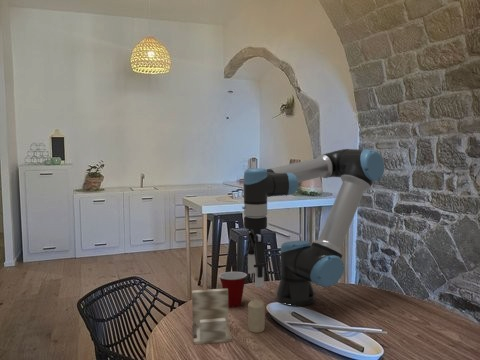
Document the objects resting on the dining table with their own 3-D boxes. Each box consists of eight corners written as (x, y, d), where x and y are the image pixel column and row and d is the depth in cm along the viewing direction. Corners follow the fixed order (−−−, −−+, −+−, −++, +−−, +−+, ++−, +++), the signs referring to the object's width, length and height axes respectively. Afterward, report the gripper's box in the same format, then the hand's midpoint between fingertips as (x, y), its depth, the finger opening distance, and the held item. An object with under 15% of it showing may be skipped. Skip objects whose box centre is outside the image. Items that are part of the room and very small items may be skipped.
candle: (263, 333, 134) (263, 304, 133) (246, 332, 135) (246, 302, 134) (265, 326, 140) (265, 297, 139) (249, 324, 141) (249, 296, 140)
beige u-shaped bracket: (227, 324, 141) (227, 288, 140) (232, 341, 129) (231, 301, 128) (192, 326, 139) (192, 290, 138) (193, 344, 128) (193, 304, 126)
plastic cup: (244, 297, 165) (243, 268, 164) (250, 308, 154) (249, 277, 153) (217, 300, 163) (216, 270, 162) (221, 311, 152) (220, 279, 151)
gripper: (238, 210, 145) (239, 268, 147) (250, 223, 121) (250, 293, 123) (259, 209, 147) (259, 267, 149) (275, 223, 122) (275, 292, 124)
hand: (255, 279), depth 136 cm, fingers open, 13 cm apart
